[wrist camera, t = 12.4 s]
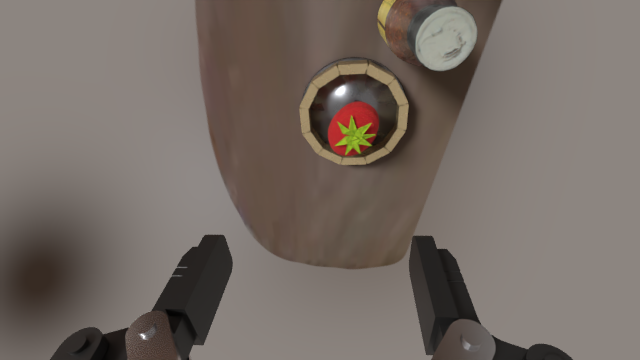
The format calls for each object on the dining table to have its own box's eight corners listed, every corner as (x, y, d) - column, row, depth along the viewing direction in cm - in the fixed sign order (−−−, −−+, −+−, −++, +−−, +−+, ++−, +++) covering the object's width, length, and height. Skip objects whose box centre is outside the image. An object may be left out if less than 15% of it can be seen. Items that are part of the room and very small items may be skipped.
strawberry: (320, 123, 45) (314, 158, 37) (350, 79, 41) (351, 106, 33) (354, 143, 46) (355, 181, 38) (386, 102, 42) (395, 135, 34)
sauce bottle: (425, 42, 39) (483, 95, 22) (374, 44, 39) (394, 98, 23) (433, -20, 35) (509, -12, 18) (377, -17, 35) (403, -6, 19)
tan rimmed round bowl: (296, 60, 41) (293, 65, 39) (410, 54, 39) (414, 59, 37) (306, 157, 49) (304, 166, 47) (401, 155, 48) (404, 164, 45)
